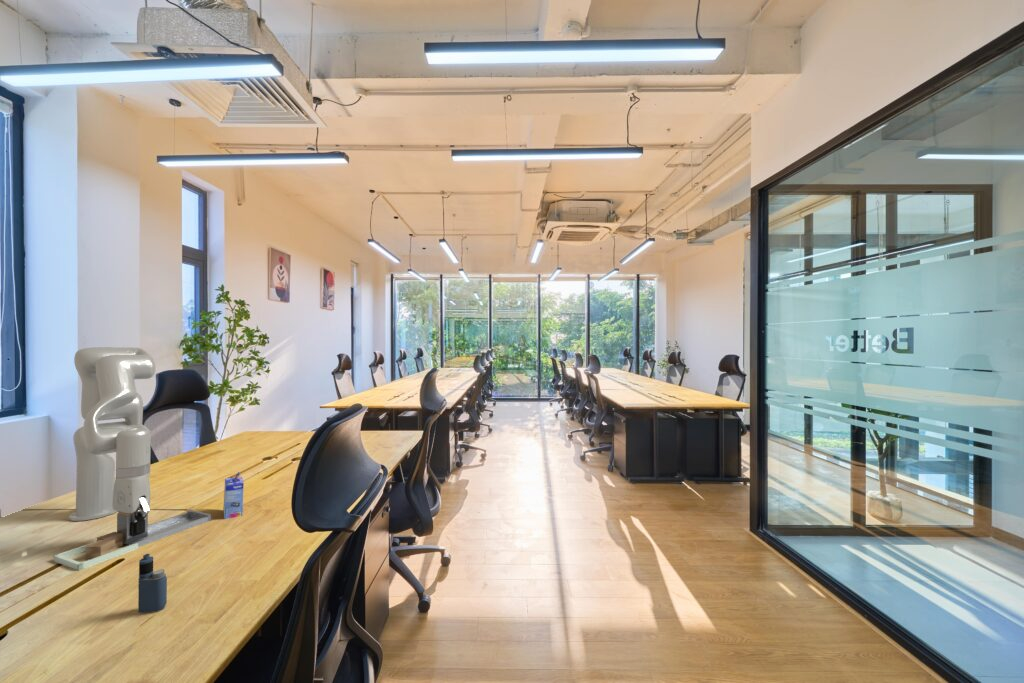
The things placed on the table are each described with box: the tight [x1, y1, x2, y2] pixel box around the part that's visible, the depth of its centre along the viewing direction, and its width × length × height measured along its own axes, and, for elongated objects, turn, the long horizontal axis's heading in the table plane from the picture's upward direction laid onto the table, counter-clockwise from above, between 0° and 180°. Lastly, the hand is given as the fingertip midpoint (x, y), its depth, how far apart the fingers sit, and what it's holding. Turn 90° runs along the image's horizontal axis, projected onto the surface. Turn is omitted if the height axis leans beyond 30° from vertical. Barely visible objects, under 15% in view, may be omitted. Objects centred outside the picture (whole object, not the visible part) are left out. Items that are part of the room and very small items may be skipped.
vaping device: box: [137, 553, 168, 614], centre depth 90 cm, size 3×5×12 cm, turn 95°
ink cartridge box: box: [222, 471, 245, 520], centre depth 142 cm, size 10×6×14 cm, turn 37°
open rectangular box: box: [123, 509, 212, 548], centre depth 128 cm, size 11×20×3 cm, turn 158°
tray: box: [52, 540, 139, 571], centre depth 113 cm, size 13×12×2 cm
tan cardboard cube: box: [96, 531, 124, 550], centre depth 117 cm, size 4×4×4 cm
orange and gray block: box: [116, 508, 149, 545], centre depth 120 cm, size 5×5×8 cm
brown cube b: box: [85, 540, 116, 561], centre depth 112 cm, size 4×4×4 cm
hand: (132, 532), depth 120 cm, fingers closed on orange and gray block, 5 cm apart
